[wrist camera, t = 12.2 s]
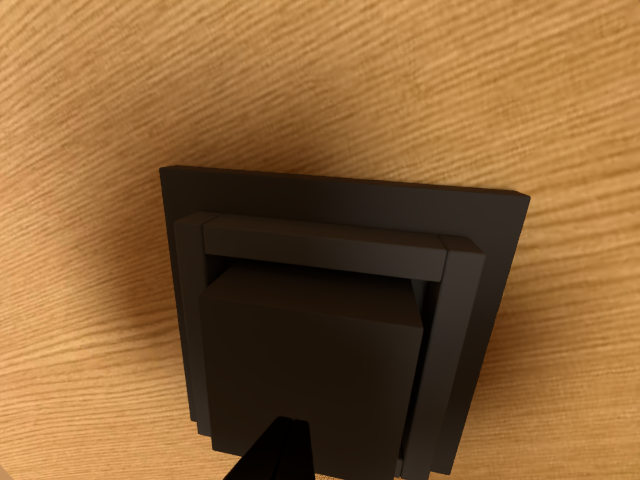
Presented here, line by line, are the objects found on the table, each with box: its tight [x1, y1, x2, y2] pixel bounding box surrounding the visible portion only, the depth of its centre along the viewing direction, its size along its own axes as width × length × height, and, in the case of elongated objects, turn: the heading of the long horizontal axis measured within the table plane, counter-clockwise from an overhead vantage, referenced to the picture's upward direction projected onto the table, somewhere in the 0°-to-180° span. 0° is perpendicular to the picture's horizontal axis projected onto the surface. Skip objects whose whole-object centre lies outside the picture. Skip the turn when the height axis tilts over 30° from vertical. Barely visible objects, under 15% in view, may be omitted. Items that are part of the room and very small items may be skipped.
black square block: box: [198, 258, 424, 480], centre depth 10 cm, size 6×6×3 cm
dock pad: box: [159, 165, 531, 480], centre depth 11 cm, size 12×12×2 cm
